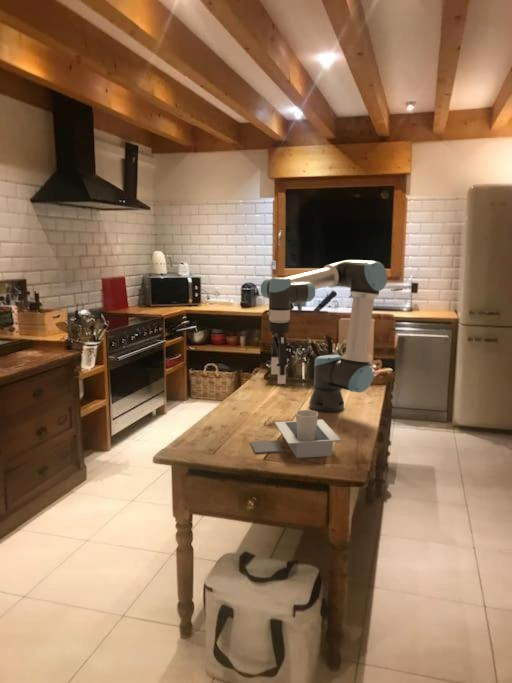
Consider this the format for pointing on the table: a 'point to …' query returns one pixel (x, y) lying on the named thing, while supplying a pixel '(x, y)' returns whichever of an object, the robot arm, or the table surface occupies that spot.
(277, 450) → the pad
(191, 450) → the table surface
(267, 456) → the table surface
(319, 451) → the rectangular frame
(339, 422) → the table surface
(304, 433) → the cup
